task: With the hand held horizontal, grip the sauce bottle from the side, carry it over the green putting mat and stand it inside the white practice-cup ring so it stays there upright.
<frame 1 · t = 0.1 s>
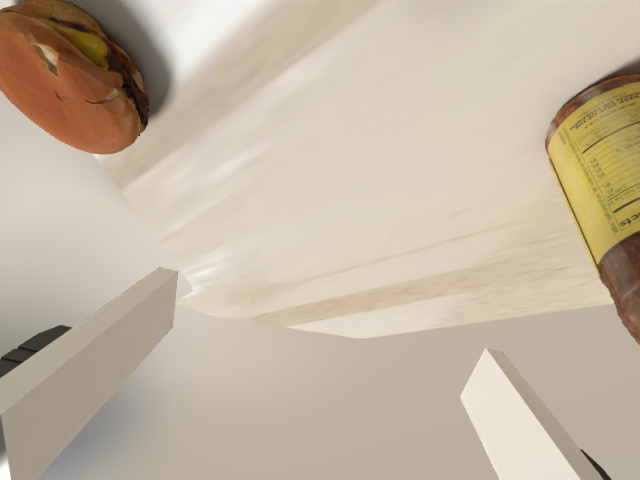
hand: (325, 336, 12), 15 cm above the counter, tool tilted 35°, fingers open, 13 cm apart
sauce bottle: (601, 115, 18), on the counter
burger: (94, 71, 22), on the counter
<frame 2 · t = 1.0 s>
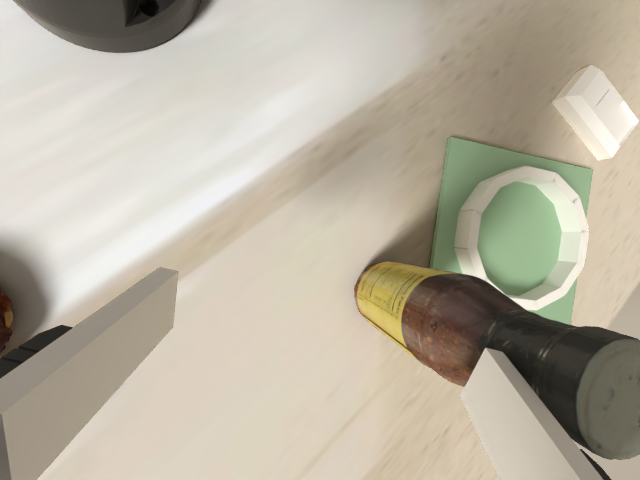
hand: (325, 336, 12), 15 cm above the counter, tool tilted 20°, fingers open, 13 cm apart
sauce bottle: (379, 289, 29), on the counter, touching gripper
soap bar: (581, 118, 34), on the counter
putting mat: (509, 238, 32), on the counter
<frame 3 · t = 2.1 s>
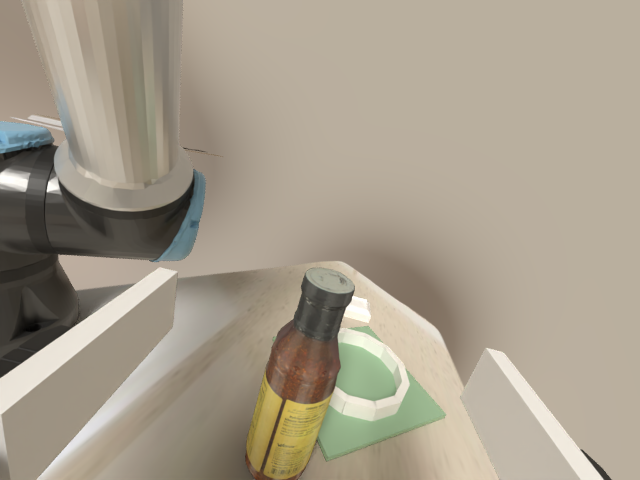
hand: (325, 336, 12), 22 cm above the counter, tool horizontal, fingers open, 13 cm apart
sauce bottle: (272, 457, 29), on the counter
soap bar: (344, 311, 57), on the counter
putting mat: (352, 376, 41), on the counter
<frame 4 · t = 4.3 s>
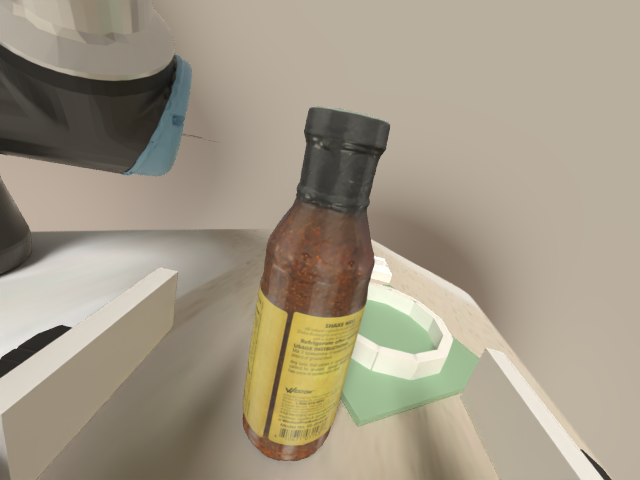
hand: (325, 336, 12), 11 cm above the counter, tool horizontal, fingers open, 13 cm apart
sauce bottle: (282, 421, 20), on the counter
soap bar: (360, 272, 49), on the counter
putting mat: (378, 332, 33), on the counter
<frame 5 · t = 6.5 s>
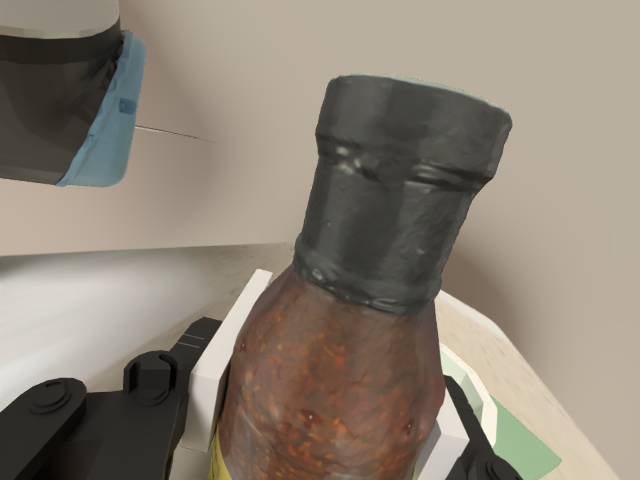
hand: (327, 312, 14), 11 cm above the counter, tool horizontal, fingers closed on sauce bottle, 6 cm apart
putting mat: (395, 393, 25), on the counter
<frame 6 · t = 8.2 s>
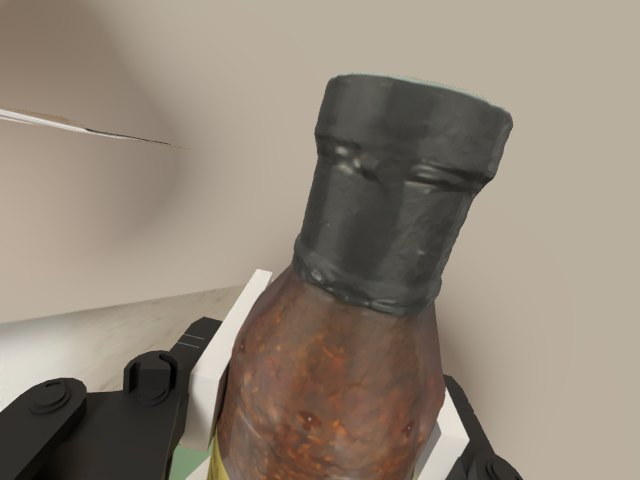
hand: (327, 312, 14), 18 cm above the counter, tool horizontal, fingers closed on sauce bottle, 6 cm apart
when the fingers open (13 cm above the counter, at t = 10.0 s): sauce bottle drops 1 cm, resting on putting mat.
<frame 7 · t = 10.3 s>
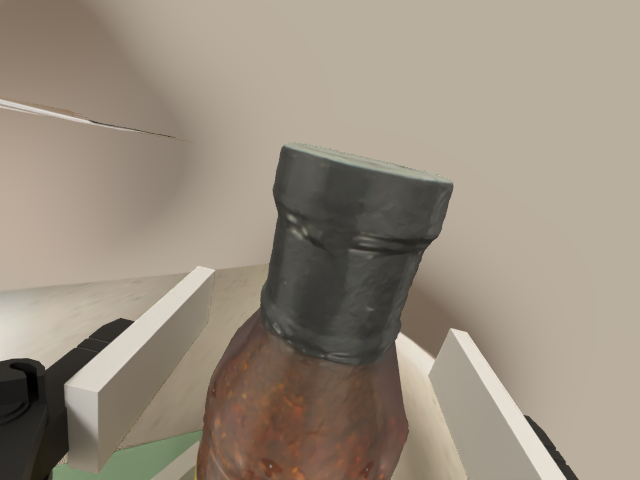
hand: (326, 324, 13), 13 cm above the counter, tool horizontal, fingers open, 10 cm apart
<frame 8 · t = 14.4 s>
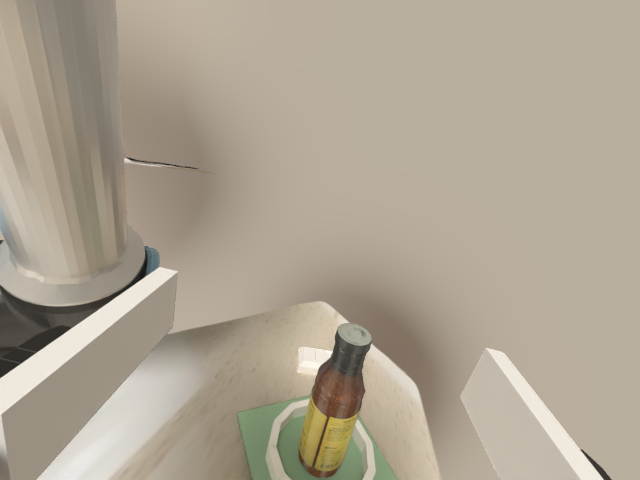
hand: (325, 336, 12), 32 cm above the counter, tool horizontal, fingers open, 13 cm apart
sauce bottle: (317, 456, 39), resting on putting mat
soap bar: (319, 368, 56), on the counter
putting mat: (318, 458, 39), on the counter
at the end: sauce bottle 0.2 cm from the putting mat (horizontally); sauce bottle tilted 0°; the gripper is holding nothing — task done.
